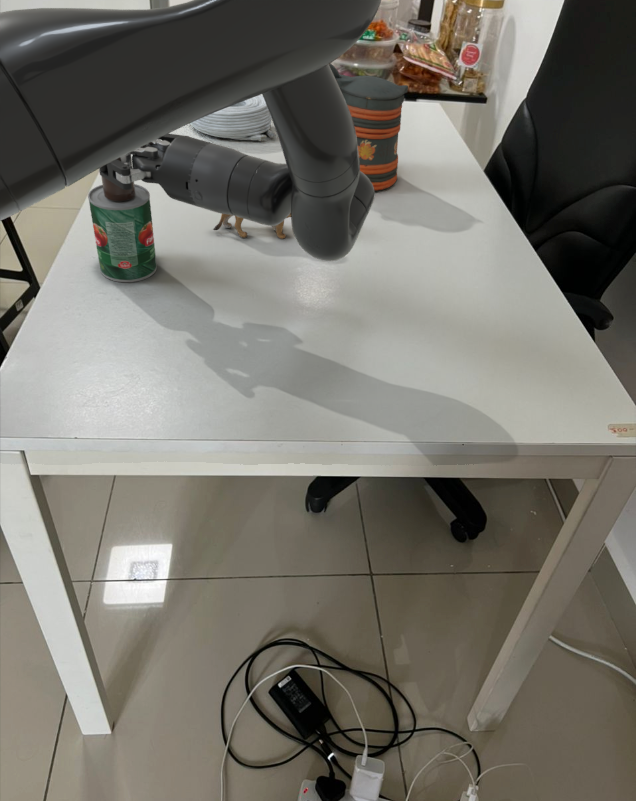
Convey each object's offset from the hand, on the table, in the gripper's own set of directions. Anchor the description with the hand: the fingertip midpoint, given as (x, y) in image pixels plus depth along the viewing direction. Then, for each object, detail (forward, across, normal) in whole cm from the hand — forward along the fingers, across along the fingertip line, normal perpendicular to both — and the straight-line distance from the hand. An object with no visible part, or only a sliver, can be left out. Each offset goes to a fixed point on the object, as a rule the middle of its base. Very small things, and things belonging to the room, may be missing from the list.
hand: (96, 143), depth 82 cm
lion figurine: (-13, -21, +17) cm, 30 cm away
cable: (+16, -58, +17) cm, 63 cm away
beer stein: (-15, -50, +17) cm, 55 cm away
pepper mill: (-3, 0, +6) cm, 7 cm away
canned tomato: (-3, 0, +17) cm, 17 cm away
